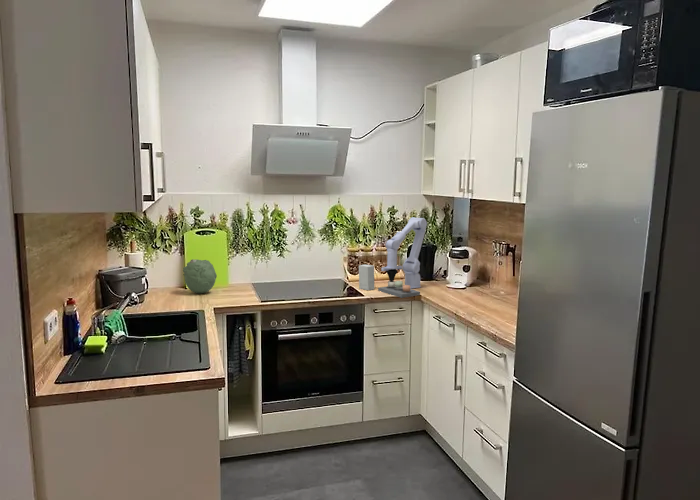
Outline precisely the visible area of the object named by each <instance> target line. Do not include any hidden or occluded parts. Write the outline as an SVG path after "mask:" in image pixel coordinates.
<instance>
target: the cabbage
mask: <svg viewBox="0 0 700 500" xmlns="http://www.w3.org/2000/svg"><path fill="white" fill-rule="evenodd" d="M182 269H183V270H182V271H183V273H184V274H183V275H182V276H183V277H184V283H185V285H186V287H187V288H188V289H189V291H191V292H192V293H195V294H206V293H207V292H209V291H210V290H212V288H213V287H214V286H215V283H216V280H217V278H218V277H217V272H216V269H215V267H214V265H213V264H212V263H211V261H209V260H207V259H204V260H202V259H190V261H189V262H187V263H186V266H184V267H182Z"/></svg>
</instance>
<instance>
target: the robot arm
mask: <svg viewBox="0 0 700 500" xmlns="http://www.w3.org/2000/svg"><path fill="white" fill-rule="evenodd" d="M427 225H428V222H427V220H426V219H425V218H424V217H414V216H412V217H410V218H409V219H408V220H407V224H406V225H405V226H404V227H403V228H402V230H400V231H397V232H396V233H395V234H394V236H392V237H391V238H390V239H388V240H387V241H386V243H385V248H386V251H387V252H386V253H387V259H386V261H387V263H386V264H387V265H386V266H383V267H381V272H386V274H387V276H388V280H389V281H390V282H393V281H395V278H396V275H397V274H398V270H403V272H404V285H410V289H412V290H413V289H417V288H418V289H419V288H422V286H421V274H420V273H419V272H420V270H421V269H420V266H421V262H420V261H419V256H420V252H421V248H422V245H423V241H424V237H425V234H426V229H427ZM411 231H413V232H414V233H415V235H414V238H413V241H412V245H411V250H410V253H409V257H407V258H406V259H405V261H404V262H403V264H402V265H397V264H398V250H399V248H400V245H401V243H402V242H403V241H404V240H405V239H406V235H407V234H409V233H410V232H411Z"/></svg>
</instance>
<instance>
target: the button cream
mask: <svg viewBox="0 0 700 500" xmlns="http://www.w3.org/2000/svg"><path fill="white" fill-rule="evenodd" d="M387 286H388V287H395V280H394V281H393V282H390V281H387Z"/></svg>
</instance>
